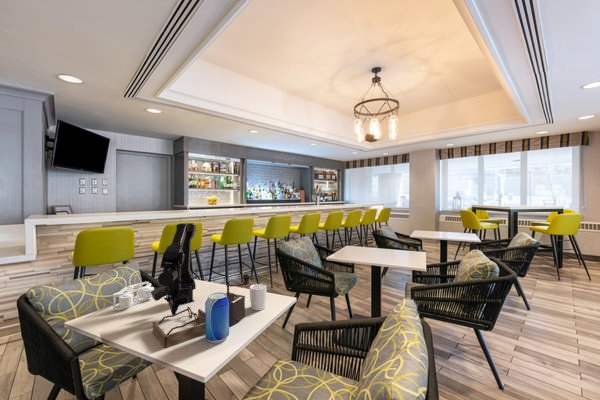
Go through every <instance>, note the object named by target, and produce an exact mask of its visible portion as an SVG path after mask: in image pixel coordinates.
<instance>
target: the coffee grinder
mask: <svg viewBox="0 0 600 400" xmlns="http://www.w3.org/2000/svg"><path fill="white" fill-rule="evenodd" d="M242 279H243V283H234V284H233V283H232V284H230V281H229V280H227V281H226V283H225V284H226V285H225V286H226V292H224V293H225V294H226V296H227V298H228V299H229V328H231V327H233V326H234V325H236V324H237V323H239V322H240V321H242V320H243V319H244V318H245V317H246V303H245V302H246V300H245V299H246V296H245V295H242V294H237V293H233V292H230V287H238V286H239V287H240V286H241V287H243V286H247V285H250V280H251V279H252V275H251V274H250V273H244V274H243V275H242Z"/></svg>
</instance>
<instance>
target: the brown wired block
mask: <svg viewBox="0 0 600 400" xmlns="http://www.w3.org/2000/svg"><path fill="white" fill-rule="evenodd" d="M197 316H198V318H199V322H202V323H199V325H198V324H197V325H194V326H191V327H188V328H184V329H181V330H179V331H175V332H173V333H172V332H171V333H170V334H169V335H166V334H167V333H165V332H164V330H163V329H162V328H161V327H160V326H159V324H157V322H156V321H153V322H152V334H153V335H154V337H155V338H156V339H157V340H158V342H159V343H160V345H162V347H163V348H164V349H168V348H170V347H173V346H176V345H179V344H181V343H184V342H186V341H187V342H188V341H190V340H193V339H195V338H198V337H200V336H203V335H204V336H205V311H203V310H202V309H201V308H199V309H198V310H197Z"/></svg>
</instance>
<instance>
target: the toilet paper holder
mask: <svg viewBox="0 0 600 400" xmlns="http://www.w3.org/2000/svg"><path fill="white" fill-rule="evenodd" d="M142 285H145V286H142ZM135 287H137V288H135ZM153 290H155V287H154V286H152V283H150V282H149V281H143V282H137V283H134V284H131V285H128V286H125V287H123V288H122V289H120V291H118V292H114V293H113V294H112V299H113V305H112V306H113V310H112V311H122V310H125V309H127V308H130V307H132V306H135V305H138V304H141V303H144V302H147V301H148V300H150V299H152V298H153V297H152V294H151V291H153ZM135 292H136V295H134V293H135ZM116 298H118V303H119V304H118V305H116V302H117V301H116ZM139 298H141V299H140V300H139ZM135 299H136V301H134V300H135Z"/></svg>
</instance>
